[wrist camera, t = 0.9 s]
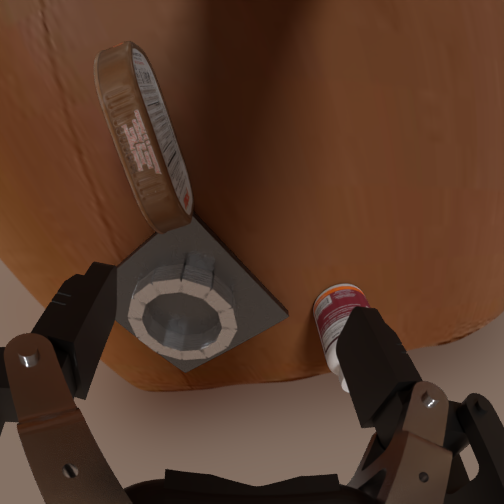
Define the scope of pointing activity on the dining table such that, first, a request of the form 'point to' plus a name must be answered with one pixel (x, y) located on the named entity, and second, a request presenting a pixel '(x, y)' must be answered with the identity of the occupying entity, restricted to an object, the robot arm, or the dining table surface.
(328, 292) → the pill bottle
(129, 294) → the collar
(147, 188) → the tin
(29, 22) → the dining table surface
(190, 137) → the dining table surface
